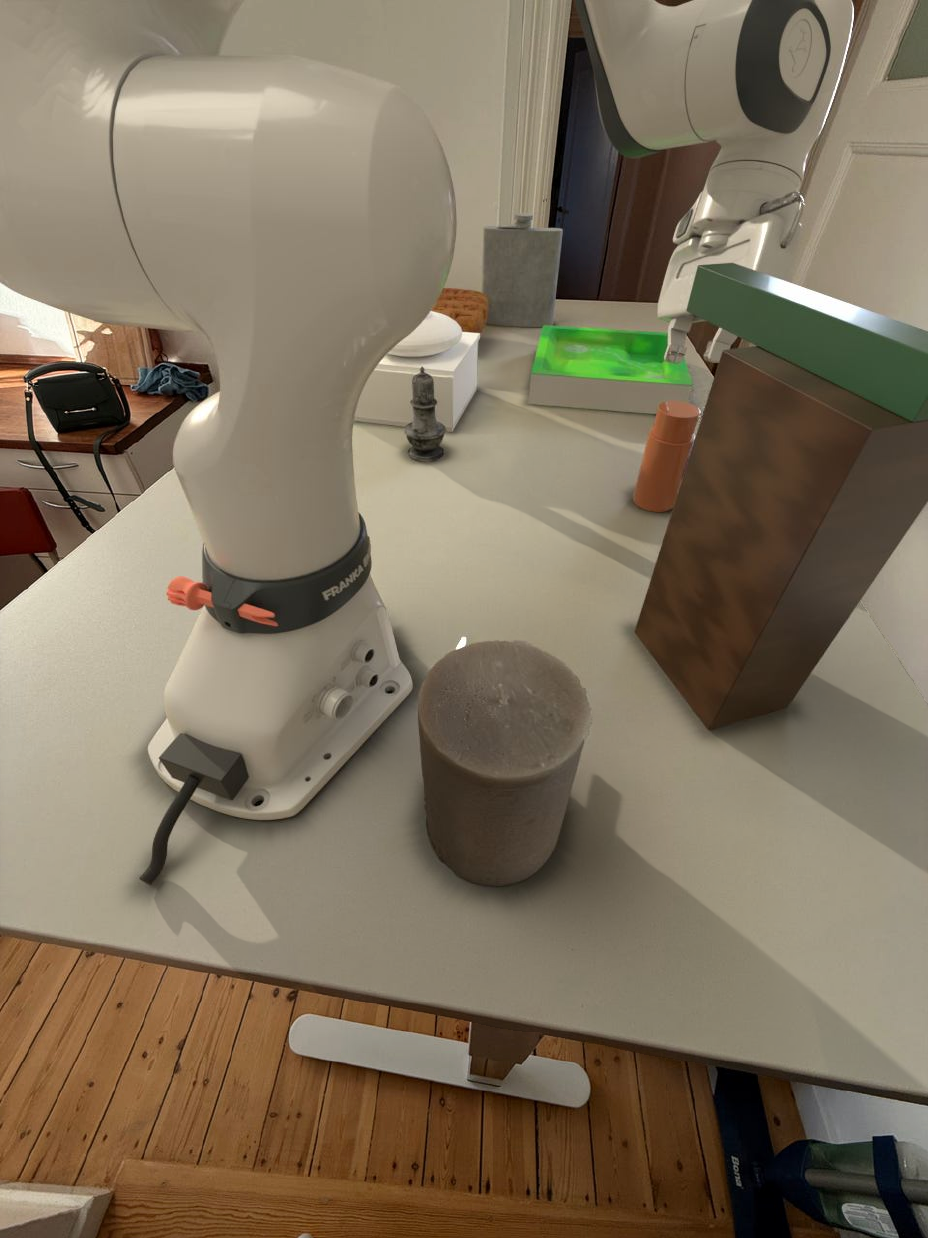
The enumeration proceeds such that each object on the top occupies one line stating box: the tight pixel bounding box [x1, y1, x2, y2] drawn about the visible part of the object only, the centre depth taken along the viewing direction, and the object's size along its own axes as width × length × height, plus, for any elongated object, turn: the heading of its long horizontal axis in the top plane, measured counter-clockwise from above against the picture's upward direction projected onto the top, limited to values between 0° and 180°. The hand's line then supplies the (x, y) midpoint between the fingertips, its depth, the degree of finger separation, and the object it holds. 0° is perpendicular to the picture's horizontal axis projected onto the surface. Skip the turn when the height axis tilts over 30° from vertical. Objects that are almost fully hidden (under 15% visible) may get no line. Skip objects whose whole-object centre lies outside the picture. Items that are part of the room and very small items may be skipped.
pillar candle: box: [417, 639, 593, 887], centre depth 35 cm, size 10×10×15 cm
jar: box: [632, 401, 702, 513], centre depth 67 cm, size 5×5×12 cm
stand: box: [634, 345, 928, 731], centre depth 42 cm, size 12×8×26 cm, turn 18°
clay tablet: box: [431, 287, 489, 336], centre depth 111 cm, size 22×17×8 cm
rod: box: [686, 263, 928, 422], centre depth 34 cm, size 20×3×3 cm, turn 18°
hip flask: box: [481, 212, 564, 328], centre depth 116 cm, size 16×4×20 cm, turn 83°
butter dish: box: [354, 311, 481, 433], centre depth 87 cm, size 18×18×16 cm
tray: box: [528, 325, 693, 415], centre depth 98 cm, size 25×25×5 cm
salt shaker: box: [403, 367, 447, 463], centre depth 75 cm, size 6×6×12 cm
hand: (691, 362), depth 61 cm, fingers open, 8 cm apart
